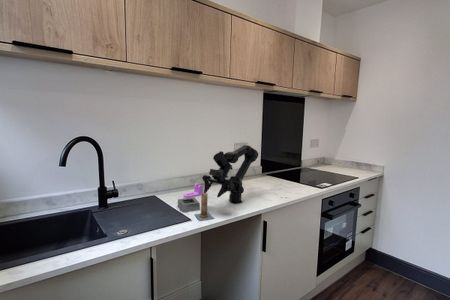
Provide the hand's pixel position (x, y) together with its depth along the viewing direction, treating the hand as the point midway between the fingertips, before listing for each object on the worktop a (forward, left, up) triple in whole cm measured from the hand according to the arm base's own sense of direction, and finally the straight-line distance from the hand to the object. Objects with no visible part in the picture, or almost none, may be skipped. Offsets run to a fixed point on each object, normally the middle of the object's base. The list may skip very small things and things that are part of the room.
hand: (210, 195), depth 129 cm
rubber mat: (+5, +3, -10) cm, 12 cm away
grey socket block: (+9, -12, -10) cm, 18 cm away
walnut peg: (+4, +3, -10) cm, 11 cm away
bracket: (0, -32, -11) cm, 34 cm away
